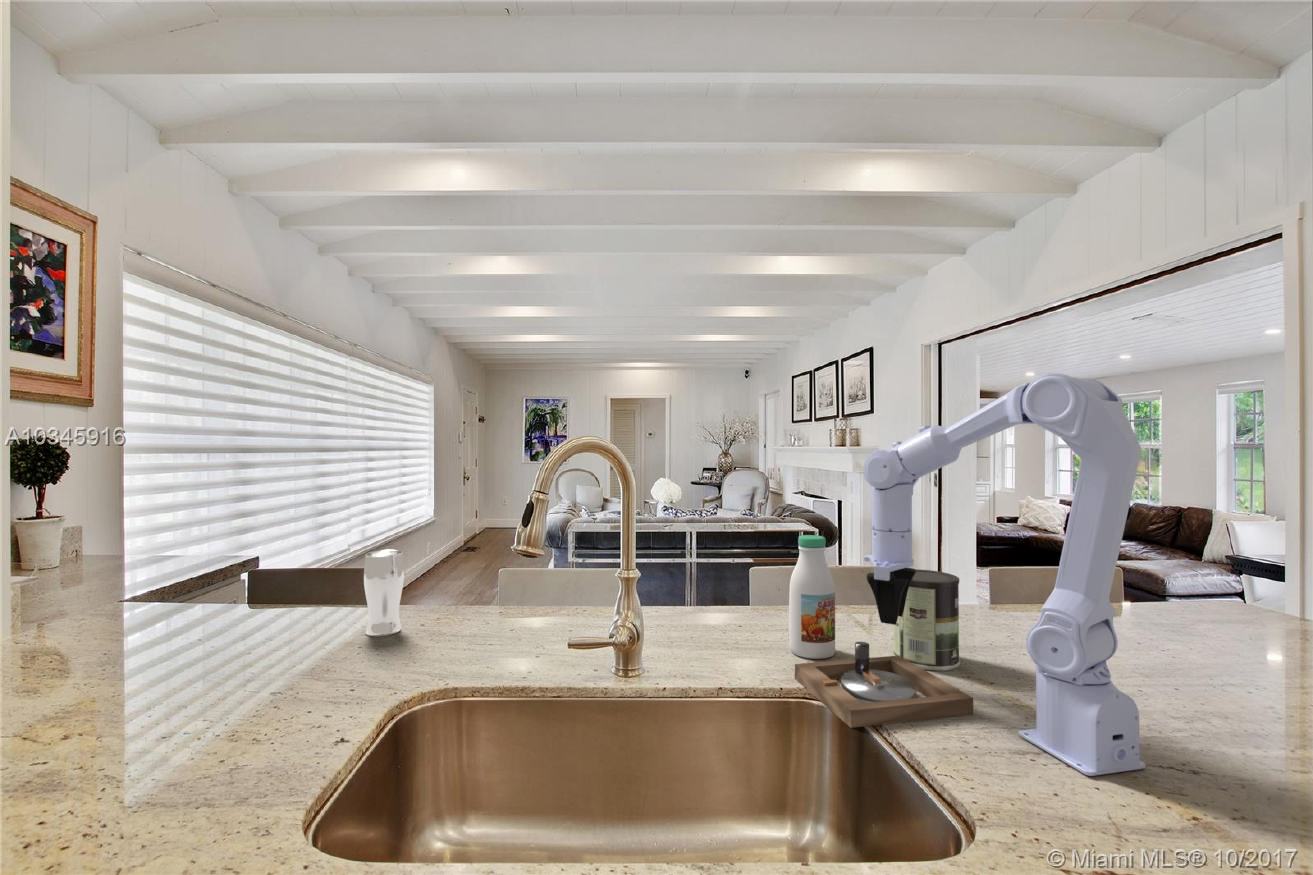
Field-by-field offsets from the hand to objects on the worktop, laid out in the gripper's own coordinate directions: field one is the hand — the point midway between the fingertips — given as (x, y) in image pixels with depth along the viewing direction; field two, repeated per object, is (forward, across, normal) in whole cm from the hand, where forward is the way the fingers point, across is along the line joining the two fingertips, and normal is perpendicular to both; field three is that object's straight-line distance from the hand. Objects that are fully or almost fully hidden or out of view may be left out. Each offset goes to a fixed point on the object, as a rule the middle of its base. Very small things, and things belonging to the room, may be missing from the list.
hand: (891, 619), depth 89 cm
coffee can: (+10, -13, +3) cm, 16 cm away
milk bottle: (+10, -6, -14) cm, 18 cm away
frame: (+9, +6, -1) cm, 11 cm away
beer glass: (+10, +28, -86) cm, 91 cm away
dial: (+9, +6, -1) cm, 11 cm away
